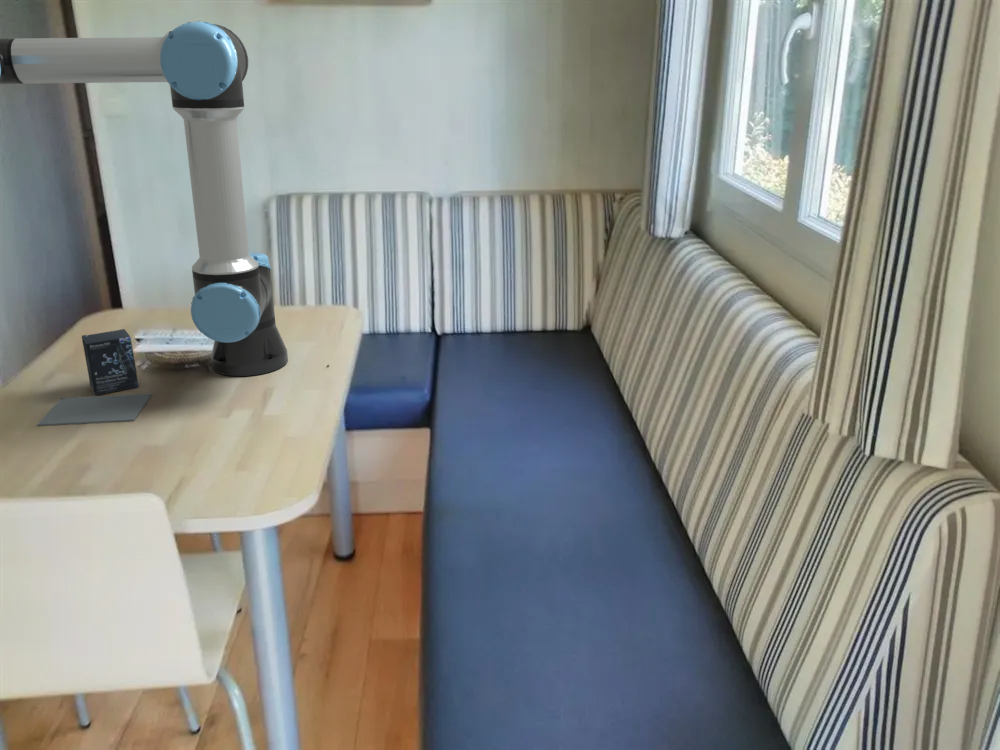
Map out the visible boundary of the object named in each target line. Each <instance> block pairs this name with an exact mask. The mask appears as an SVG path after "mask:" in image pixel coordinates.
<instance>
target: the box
mask: <svg viewBox="0 0 1000 750" xmlns="http://www.w3.org/2000/svg"><path fill="white" fill-rule="evenodd" d="M81 340H82V346H83V352H84V357H85V361H86V363H85V364H86V368H87V369H86V370H87V373H88V380H89V385H90V389H91V390H92V392H93V393H94V396H101V395H103V394H109V393H114V392H120V391H124V390H130V389H138V388H139V382H138V381H139V379H138V375H137V369H136V362H135V357H134V350H133V349H134V348H133V344H132V337H131V335H130V334H129V333H128V331H126V329H124V328H123V329H117V330H111V331H105V332H99V333H93V334H84V335H81Z"/></svg>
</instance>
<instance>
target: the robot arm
mask: <svg viewBox="0 0 1000 750" xmlns="http://www.w3.org/2000/svg"><path fill="white" fill-rule="evenodd" d="M248 69H249V57H248V52H247V50H246V46H245V45H244V43H243V41H242V40H241V39H240V37H239V36H238V35H237V34H236V33H234V32H233V31H232V30H231V29H229V28H227V27H225V26H223V25H219V24H216V23H212V22H208V21H200V20H197V21H187V22H186V23H182V24H181V25H178V26H177V27H175V28H174V29H172V30H169V31H167V32H166V33H165V34H164V36H148V37H147V36H145V37H141V36H137V37H135V36H134V37H133V36H132V37H126V36H125V37H46V38H45V37H44V38H43V37H39V38H38V37H37V38H34V37H32V38H31V37H30V38H27V37H25V38H24V37H22V38H21V37H20V38H17V37H16V38H0V85H21V84H23V85H25V84H92V83H94V84H99V83H101V84H103V83H104V84H105V83H109V84H112V83H114V84H115V83H168V84H169V87H170V97H171V105H172V109H173V110H174V111H175V112H176V113H177V114H178V115H179V116H181V118H182V119H183V125H184V135H185V141H186V151H187V152H186V153H187V161H188V169H189V176H190V177H189V179H190V186H191V193H192V194H191V195H192V200H193V201H192V202H193V203H192V204H193V211H194V212H193V213H194V219H195V220H194V222H195V229H196V239H197V247H198V254H199V257H198V259H197V260H196V261H195V263H194V264H192V267H191V270H192V271H191V272H192V273H191V274H192V280H193V281H192V282H193V290H194V296H193V297H192V298H191V299H192V301H191V306H190V315H191V319H192V322H193V324H194V325H195V327H196V329H197V330H198V331H199V332H200V333H201V334H203V335H204V336H205V337H207V338H208V339H210V340H212V341H213V347H212V351H211V356H210V361H211V367H212V368H211V369H212V370H213V371H214V372H216V373H218V374H220V375H225V376H230V377H233V376H234V377H245V376H247V377H249V376H257V375H263V374H264V375H265V374H268V373H271V372H274V371H277V370H279V369H281V368H283V367H284V366H285V365H287V363H288V362H289V355H288V349H287V347H286V345H285V344H286V343H285V342H284V340H283V337H282V336H281V334H280V331H279V329H278V327H277V323H276V313H275V303H274V295H273V286H272V275H271V271H272V267H271V265H270V264H271V263H270V260H269V257H268V255H267V254H265V253H261V252H250V251H249V240H248V230H247V228H248V227H247V217H246V209H245V197H244V187H243V175H242V174H243V173H242V168H241V167H242V165H241V156H240V145H239V143H240V142H239V134H238V124H237V123H238V121H237V119H238V116H240V114H241V113H242V112H243V111H244V110H245V99H244V89H243V81H244V80H245V78H246V76H247V74H248Z"/></svg>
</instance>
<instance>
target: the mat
mask: <svg viewBox="0 0 1000 750" xmlns="http://www.w3.org/2000/svg"><path fill="white" fill-rule="evenodd" d="M151 397H152V393H140V394H139V393H137V394H136V393H134V394H117V395H116V394H115V395H94V396H92V395H91V396H77V397H76V396H73V397H62V398H60V399H59V400H58V401H57V402H56V403H55V405H53V406H52V408H51V409H50V410H49V411H48V412H47V413H46V414H45V415H44V417H43V418H42V419H40V420H39V422H37V427H42V426H43V427H45V426H46V425H47V426H62V425H83V424H85V425H86V424H100V423H101V424H103V423H120V422H122V423H124V422H135V421H136V419H137V418H138V416H139V415H140V413H141V412H142V410H143V409H144V407H146V406H145V405H146V404H147V402H148V401H149V400H150V399H151Z"/></svg>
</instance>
